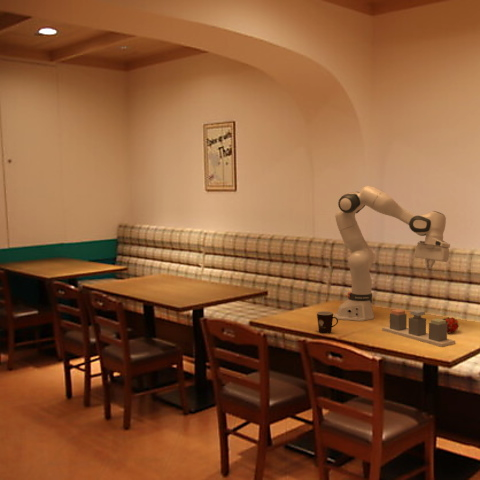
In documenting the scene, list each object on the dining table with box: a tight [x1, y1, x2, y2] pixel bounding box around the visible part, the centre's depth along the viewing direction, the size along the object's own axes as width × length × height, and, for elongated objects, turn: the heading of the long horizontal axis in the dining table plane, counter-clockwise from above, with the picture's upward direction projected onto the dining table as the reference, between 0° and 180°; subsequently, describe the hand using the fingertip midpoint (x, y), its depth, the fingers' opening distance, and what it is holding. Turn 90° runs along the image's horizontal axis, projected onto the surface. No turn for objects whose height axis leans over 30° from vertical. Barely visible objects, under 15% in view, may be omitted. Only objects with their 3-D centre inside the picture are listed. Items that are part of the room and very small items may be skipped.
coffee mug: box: [316, 310, 339, 334], centre depth 321 cm, size 12×9×10 cm
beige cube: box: [409, 309, 426, 319], centre depth 309 cm, size 5×5×5 cm
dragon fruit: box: [441, 317, 460, 334], centre depth 318 cm, size 8×8×12 cm
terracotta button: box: [390, 308, 406, 315], centre depth 320 cm, size 5×5×5 cm
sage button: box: [430, 318, 446, 325], centre depth 299 cm, size 5×5×5 cm
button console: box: [381, 313, 456, 348], centre depth 310 cm, size 38×10×10 cm, turn 33°
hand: (428, 268), depth 325 cm, fingers closed
